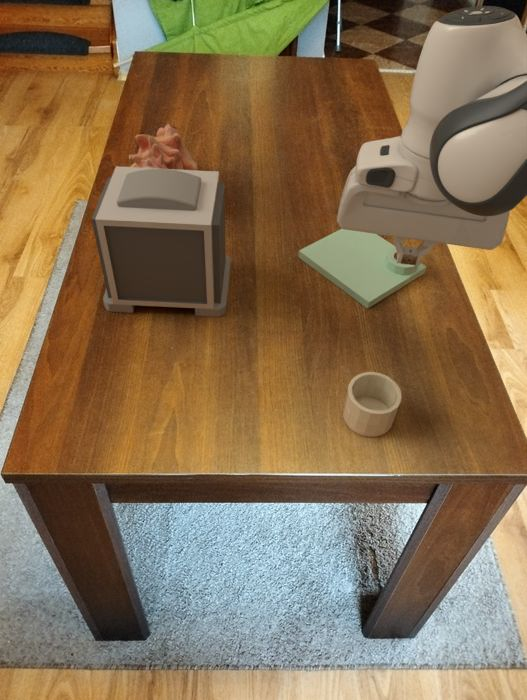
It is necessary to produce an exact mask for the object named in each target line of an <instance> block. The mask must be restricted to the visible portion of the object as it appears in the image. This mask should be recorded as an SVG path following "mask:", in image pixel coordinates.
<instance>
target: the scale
mask: <svg viewBox="0 0 527 700" xmlns="http://www.w3.org/2000/svg"><path fill="white" fill-rule="evenodd" d="M396 253H397V249H396V247H395V244H392V243H391V242H390V241H388V240H386V239H385V238H383V237H382V236H381V235H380V234H373V233H366V232H359V231H352V230H345V229H342V228H340V229H337V230H336V231H335V232H332V233H330V234H328V235H327V236H324V237H323V238H320V239H318V240H317V241H315V242H313V243H311V244H309V245H307V246H305V247H303V248H300V249H299V250H298V255H297V256H298V257H297V258H299V259H300V260H301V261H302V262H304V263H305V264H307V265H308V266H309V267H311V268H312V270H313V269H314V270H315V271H316V272H317V273H319V274H320V275H321V276H323V277H324V278H326V279H327V280H328V281H329V282H331V283H332V284H333V285H335V286H336V287H337V288H338V289H340V290H342V291H343V292H344V293H346V294H347V295H348V296H350V297H351V298H352V299H354V300H355V301H356V302H358V303H359V304H361V306H363V307H365V308H366V309H370V308H372V306H374V305H376V304H377V303H379V302H381V301H382V300H384V299H386V298H387V297H389V296H390V295H392V294H394V293H395V292H397V291H398V290H400V289H402V288H404V287H405V286H408V284H410V283H411V282H413V281H414V280H416V279H418V278H419V277H422V276H423V275H425V274H426V271H427V268H428V266H426V265H425V264H423V263H422V262H420V265H419V266H415V265H409V264H401V263H397V260H396V258H395V257H396Z"/></svg>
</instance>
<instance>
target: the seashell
mask: <svg viewBox="0 0 527 700" xmlns="http://www.w3.org/2000/svg"><path fill="white" fill-rule="evenodd" d="M134 139H135V141H136V142H137V145H138V146H139V149H138V151H137V153H133V154H128V159H129V160H130V161H132V162H133V163H132V164H131V165H130V166H129V167H139V168H158V169H178V170H197V171H199V168H198V167H199V166H198V163H197V162H196V161H195V160H194V159H193V158H192V153H190V152H189V151H188V149H187V147H186V145H185V142H184V141H183V139H182V136H181V134H179V133H178V130H177V129H176V128H174V127H173V126H171V125H170V124H169V123H167V124H166V125H165V126H164V127H162V126H161V127H160V128H158V130H157V131H156V136H154V135H150V134H146V133H144V134H136V135H135V136H134Z"/></svg>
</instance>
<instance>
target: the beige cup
mask: <svg viewBox="0 0 527 700" xmlns="http://www.w3.org/2000/svg"><path fill="white" fill-rule="evenodd" d="M348 383H349V384H348V385H347V388H346V394H345V398H344V403H343V407H342V417H343V421H344V423H345V424H346V425H347V427H348V428H349V429H350V430H351V431H353V432H354V433H356V434H358V435H360V436H363V437H368V438H369V437H370V438H374V437H375V438H376V437H381V436H382V435H384V434H387V433H388V432H389V431H390V429H391V428H392V426H393V423H394V422H395V420H396V417H397V414H398V411H399V408H400V405H401V403H402V399H403V398H402V390H401V388H400V386H399V385H398V383H397V381H395V380H394V379H393V378H391V377H390V376H388V375H386V374H383V373H381V372H376V371H366V372H365V371H364V372H361V373H358V374H357V375H355V376H354V377H352V378H351V380H350V382H348Z"/></svg>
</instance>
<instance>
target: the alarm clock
mask: <svg viewBox="0 0 527 700" xmlns="http://www.w3.org/2000/svg"><path fill="white" fill-rule="evenodd" d="M225 195H226V185H225V183H224V182H222V181H220V171H215V170H198V171H197V170H178V169H158V168H139V167H130V166H118V165H117V166H116V165H115V168H114V170H113V172H112V175H111V176H109V177H108V178H107V179H106V181H105V184H104V186H103V189H102V191H101V193H100V196H99V199H98V202H97V204H96V206H95V210H94V211H93V213H92V216H91V223H92V228H93V233H94V237H95V243H96V247H97V252H98V256H99V260H100V264H101V271H102V274H103V279H104V284H105V291H104V294H103V296H102V301H103V305H104V308H105V310H106V311H108V312H110V313H111V312H112V313H130V314H131V313H132V314H133V313H134V311H135V308H136V306H140V307H141V306H142V307H164V308H183V309H184V308H185V309H194V316H196V317H214V318H219V317H223V316H224V315H225V314H226V313H227V305H228V297H229V296H228V294H229V287H230V278H231V276H230V275H231V267H232V258H231V257H230V255H228V254H226V196H225Z"/></svg>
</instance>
